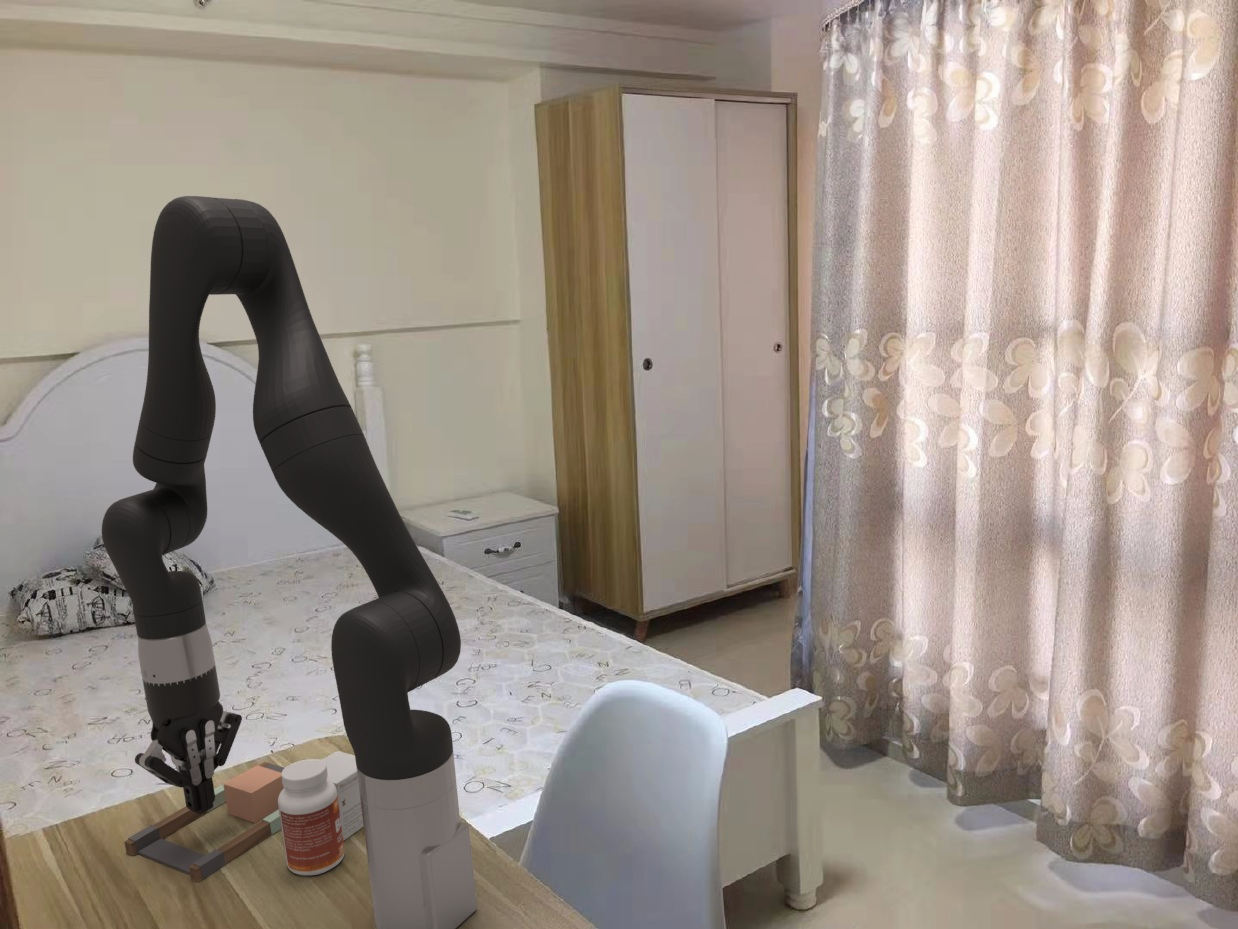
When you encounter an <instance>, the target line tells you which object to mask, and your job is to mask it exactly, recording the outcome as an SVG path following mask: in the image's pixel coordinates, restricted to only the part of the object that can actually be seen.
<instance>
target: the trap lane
mask: <svg viewBox="0 0 1238 929" xmlns="http://www.w3.org/2000/svg"><path fill="white" fill-rule="evenodd" d="M257 765H258V766H261V767H265V768H268V769H271V770H274V771H277V772H280V773H282V771H283V769H284V768H285V766H280V765H277V764H274V763H271V762H268V761H263V762H261V763H260V764H257ZM255 766H256V765H254V766H252V767H251V768H253V767H255ZM246 771H247V770H246ZM246 771H244V772H246ZM223 784H224V783H222V784H221V785H219V786H217V787H216V788H215V787H214V792H215V800H214V802H213V808H211V809H210V810H208V811H206V812H205V813H203V814H198V813H195V812H193V811H192V810H190V809H188V808H187V806H186V805H185V806H184V807H182V808H181V809H179V810H177V811H175V812H173V813H172V814H170V815H168V816H166V817H165V818H162V819H161V820H160V821H157V822H156V823H154V824H150V825H149V826H147V827H145V828H143V829H141V830H140V831H138V832H136V833H134V834H133V835H131V836H129V837H128V838H127V839H126V840H124V846H125V854H128V855H130V856H132V857H134V856H136V855H137V854H138V855H139V856H142V857H145V858H147V859H149V860H152V861H154V862H157V863H160V864H162V865H164V866H166V867H170V868H172V869H175V870H178V871H180V872H182V873H184V874H187V875H189V876H190V880H192V881H195V882H197V883H199V882H201V881H203V880H204V879H206V878H207V877H209V876H211V875H212V874H213V873H215V872H217V871H218V870H220V869H221V868H223V867H224V866H226V865H227V864H228V863H230V862H231V861H233V860H235V859H236V858H238V857H239V856H241V855H243V854H244V853H245V852H247V851H249V850H250V849H251V848H254V847H255V846H256V845H257V844H259V843H261V842H262V841H264V840H266V839H267V838H269V837H270V836H272V835H274V834H276V833H277V832H279V831H280V830H282V829H281V822H280V814H279V809H278V810H276V811H275V812H273V813H272V814H270V815H268V816H267V817H265V818H263V819H262V820H260V821H259V822H257V823H255V825H253V826H252V827H250V828H248V829H246V830H245V831H244V832H242V833H240V834H239V835H238V836H236V837H234V838H233V839H231V840H229V841H228V842H226V843H224V844H223V845H221V846H220V847H218V848H214V849H213V850H211V851H210V852H208V853H206V854H205V853H201V852H199V851H197V850H193V849H190V848H188V847H186V846H183V845H180V844H178V843H175V842H172V841H170V840H167V839H164V838H166V837H167V836H170V835H171V834H172V833H174V832H176V831H178V830H180V829H181V828H183V827H185V826H187V825H188V824H190V823H191V822H193V821H195V820H197V819H199V818H200V817H202V816H204V815H205V814H207V813H209V812H210V811H212V810H215V809H217V808H218V807H220V806H221V805H223V804H225V803H226V798H225V792H224V785H223Z"/></svg>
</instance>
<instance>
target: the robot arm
mask: <svg viewBox="0 0 1238 929" xmlns="http://www.w3.org/2000/svg"><path fill="white" fill-rule="evenodd" d="M150 252H151V254H150V269H149V270H150V273H149V274H150V275H149V277H150V278H149V279H150V280H149V301H148V302H149V304H148V361H147V374H146V383H145V390H144V396H143V403H142V406H141V413H140V416H139V421H138V425H137V430H136V434H135V441H134V445H133V451H132V463H133V464H132V465H133V467H134V469H135V471H136V472H137V474H139V475H140V477H142V478H145V479H147V480H148V481H151V482H152V483H155V486H154V488H153V489H150V490H147V491H143V492H140V493H138V494H137V493H136V494H134V495H130V496H126V497H124V498H121V499H119V500H117V501H115V502H113V503H112V504H111V505H110V506H109V507H108V508H107V509H106V512H105V513H104V515H103V518H102V522H101V540H102V544H103V546H104V548H105V550H106V553H107V556H108V557H109V559H110V561H111V563H112V564H113V567H114V569H115V571H116V572H117V574H118V576H119V579H120V581H121V583H122V585H123V587H124V588H125V590H126V593H127V594H128V597H129V598H130V601H131V605H132V612H133V617H134V624H135V630H136V635H137V654H138V662H139V667H140V674H141V679H142V685H143V690H144V695H145V696H144V697H145V701H146V707H147V712H148V714H149V717H150V719H151V722H152V727H151V731H150V740H151V743H150V744H149V746H148V747H147V748H146V750H145V751H144V753H143V752H140V753H137V755H135V757H134V763H135V764H136V765H138V766H139V767H141V768H143V770H146V771H147V772H148V773H150V774H151V775H153V776H154V777H156V778H157V779H159V780H160V781H162V782H164V783H165V784H168V785H170V786H171V785H172V786H175V787H178V788H181V789H182V788H183V795H184V796H183V797H184V800H185V807H186V806H187V808H188V809H190V810H192V811H193V812H195V813H198V814H203V813H205V812H206V811H208V810H210V809H211V808H213V802H214V800H215V792H214V789H215V787H214V781H213V776H214V775H215V770H216V769H217V768H219V767H223V766H224V765H225V764H226V762H227V760H228V758H229V755H230V752H231V750H232V748H233V747H232V746H233V743H234V742H235V739H236V736H237V734H238V732H239V729H240V726H241V724H242V720H243V717H242V715H241V714H238V713H236V712H231V711H226V710H224V708H223V707H224V706H223V705H222V703H221V702H220V699H221V692H220V685H219V679H218V673H217V667H216V661H215V655H214V654H215V653H214V648H213V642H212V638H211V635H210V631H209V628H208V625H207V620H206V614H205V609H204V607H205V606H204V601H203V596H202V588H201V585H200V582H199V580H198V578H197V576H195V575H194V574H193V573H191V572H188V571H183V570H172V571H169V570H168V567H166V565H165V562H164V559H163V556H164V555H166V554H170V553H172V552H175V551H177V550H180V549H183V548H185V547H188V546H190V545H191V544H192V543H194V542H195V541H196V540H197V539H198V538H199V537H200V535H201V534H202V532H203V530H204V528H205V525H206V522H207V519H208V500H207V499H208V497H207V481H206V472H205V471H206V470H205V463H206V458H207V456H208V452H209V447H210V443H211V438H212V434H213V429H214V426H215V420H216V410H217V408H216V406H217V405H216V404H217V403H216V394H215V389H214V385H213V383H212V380H211V377H210V374H209V371H208V369H207V365H206V363H205V360H204V357H203V354H202V348H201V344H200V343H201V342H200V325H201V320H202V315H203V311H204V309H205V306H206V303H207V300H208V298H209V296H210V295H211V296H212V295H213V296H217V295H218V296H219V295H236V297H237V298H238V300H239V302H240V304H241V305H242V306H243V309H244V311H245V313H246V315H247V318H248V320H249V323H250V326H251V328H252V331H253V333H254V336H255V340H256V343H257V349H258V363H257V370H256V379H255V386H254V394H253V399H252V400H253V402H252V421H253V427H254V431H255V435H256V438H257V440H258V442H259V445H260V447H261V450H262V452H263V454H264V457H265V458H266V460H267V464H268V466H269V468H270V469H271V470H270V471H271V472H272V474H273V476H274V479H275V481H276V483H277V485H278V487H279V488H280V490H281V491H282V492H283V494H284V495H285V496H286V497H287V498H288V499H289V500H290V501H291V502H292V503H293V504H294V505H295V506H296V507H297V508H299V509H300V511H302V513H304V514H305V515H307V516H308V517H309V518H311V520H314V521H315V522H316V523H317V524H319V525H320V526H322V528H324V529H325V530H327V531H328V532H329V533H331V534H332V535H333V536H334V537H335V538H336V539H338V540H339V541H340V542H341V543H343V544H344V545H345V546H346V547H347V548H348V549H349V551H351V553H353V555H354V556H355V557H356V558H357V560H358V561H359V563H360V564H361V566H362V568H363V569H364V571H365V573H366V575H367V576H368V579H369V580H370V582H371V584H372V586H373V588H374V591H375V592H376V594H377V598H375V599H373V600H371V601H368V602H364V603H363V604H361V605H358V606H356V607H353V608H351V609H349V610H346V611H345V612H344V613H342V614H341V615H339V617H338V618H337V620H336V621H335V624H334V626H333V628H332V635H331V645H330V646H331V659H332V661H331V662H332V665H333V672H334V678H335V682H336V688H337V693H338V699H339V704H340V711H341V715H342V717H341V718H342V721H343V728H344V730H345V734H346V736H347V738H348V741H349V744H350V746H351V747H352V750H353V753H354V754H353V755H355V760H356V767H357V775H358V783H359V791H360V801H361V809H362V817H363V826H364V827H363V832H364V833H363V834H364V841H365V849H366V858H367V859H366V860H367V867H368V874H369V881H370V882H369V884H370V890H371V898H372V906H373V914H374V915H373V916H374V922H375V926H376V929H457V928H458V927H459V926H460V925H462V923H464V921H466V920H467V919H468V918H469V917H470V916H471V915H472V914H473V913H474V912H476V911H477V909H478V906H477V896H476V894H477V893H476V888H475V876H474V866H473V857H472V846H471V845H472V844H471V835H470V834H471V833H470V826H469V824H467V823H466V822H462V821H461V816H460V805H459V796H458V785H457V776H456V766H455V764H456V763H455V755H454V743H453V736H452V728H451V725H450V724H449V722H448V721H447V720H446V718H445V717H443V716H442V715H440V714H438V713H435V712H432V711H428V710H422V709H411V706H410V701H409V694H408V693H410V692H412V691H413V690H415V689H419V687H422V686H423V685H425V684H428V683H429V682H431V681H433V680H436V679H437V678H439V677H441V676H443V675H445V674H446V673H447V672H449V671H450V670H452V669H453V668H454V667H455V665H456V664H457V663H458V661H459V658H460V655H461V648H462V647H461V646H462V645H461V644H462V642H461V641H462V640H461V634H460V633H461V632H460V629H459V625H458V622H457V618H456V616H455V614H454V611H453V609H452V606H451V604H450V601H448V598H447V597H446V594H445V593H444V591H443V589H442V588H441V586H440V584H439V583H438V580H437V578H436V577H435V575H434V573H433V572H432V570H431V569H430V566H429V565H428V562H426V560H425V558H424V557H423V555H422V553H421V551H420V550H419V548H418V547H419V546H417V544H416V542H415V541H414V538H413V537H412V535H411V533H410V531H409V530H408V528H407V526H406V524H405V523H404V520H403V518H402V516H401V514H400V513H399V509H398V508H397V506H396V503H395V502H394V500H393V498H392V495H391V493H390V491H389V489H388V488H387V485H386V482H385V481H384V479H383V477H382V475H381V472H380V470H379V468H378V466H377V463H376V461H375V459H374V457H373V454H372V451H371V450H370V447H369V444H368V442H367V438H366V437H365V434H364V432H363V430H362V428H361V425H360V423H359V421H358V418H357V416H356V413H355V411H354V410H353V408H352V406H351V404H350V402H349V400H348V397H347V395H346V394H345V391H344V390H343V387H342V386H341V384H340V381H339V379H338V376H337V374H336V372H335V369H334V367H333V365H332V363H331V360H330V358H329V356H328V353H327V351H326V348H325V346H324V342H323V340H322V338H321V336H320V334H319V331H318V329H317V326H316V324H315V321H314V319H313V318H314V317H313V315H312V312H311V311H310V308H309V305H308V302H307V298H306V295H305V293H304V290H303V285H302V283H301V281H300V280H301V279H300V277H299V273H298V270H297V268H296V265H295V263H294V262H295V261H294V258H293V256H292V253H291V250H290V248H289V245H288V242H287V240H286V238H285V234H284V232H283V231H282V228H281V226H280V224H279V223H278V221H277V219H276V217H274V216H273V214H272V212H270V211H269V210H268V209H267V208H266V207H264V206H263V205H261V204H259V203H257V202H254V201H252V200H251V201H250V200H246V199H239V198H235V199H234V198H222V197H212V196H202V195H201V196H200V195H199V196H198V195H184V196H179V197H176V198H173V199H172V200H171V201H169V202H167V203H166V205H165V206H164V207H163V208H162V210H161V211H160V213H159V215H158V218H157V220H156V223H155V225H154V231H153V236H152V241H151V251H150ZM163 751H165V753H167V754H168V755H169V756H170V759H171V760H170V761H171V762H172V764H173V765H174V766H175V768H173V767H172V766H170V765H169V764H167V763H166V761H167V758H166V756H165V754H164V753H163ZM205 814H206V813H205Z"/></svg>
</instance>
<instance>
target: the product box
mask: <svg viewBox="0 0 1238 929" xmlns="http://www.w3.org/2000/svg"><path fill="white" fill-rule="evenodd" d="M320 760H322V761H324V762H325V763H326V766H327V772H328V776H327V779H329V780H330V781H332V782H333V783H334V785H335V787H336V790H337V795H338V803H339V811H340V819H341V826H342V834H343V841H345V840H347V839H348V838H350V836H352V835H354V834H355V833H357V832H358V831H359V830H361V829H363V828H364V826H363V817H362V809H361V801H360V791H359V783H358V775H357V767H356V760H355V754H351V753H347V752H344V751H339V750H335V751H334V752H332V753H331V754H329V755H328V756H326V757H323V758H321V759H320Z"/></svg>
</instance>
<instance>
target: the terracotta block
mask: <svg viewBox="0 0 1238 929" xmlns="http://www.w3.org/2000/svg"><path fill="white" fill-rule="evenodd" d="M258 765H259V764H256V765H254V766H255V767H254V766H252V767H253V768H252V767H251V768H249V769H247V770H246V772H245V771H244V772H242V773H240V774H238V775H236V776H235V777H233V778H231V779H229V780H227V781H226V782H224V783H222V784H223V785H224V792H225V798H226V802H225V803H226V809H227V810H226V811H227V814H230V815H231V816H234V817H237V818H241V819H243V820H246V821H249V822H251V823H254V824H258V823H259V822H261V821H262V819H264V818H266V817H267V816H269V815H270V814H272V813H274V812H275V811H277V810H278V809H279V807H278V797H279V795H280V793H281V791H282V790H283V789H284V787H283V784H282V773H280V772H277V771H274V770H271V769H268V768H265V767H261V766H258Z"/></svg>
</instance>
